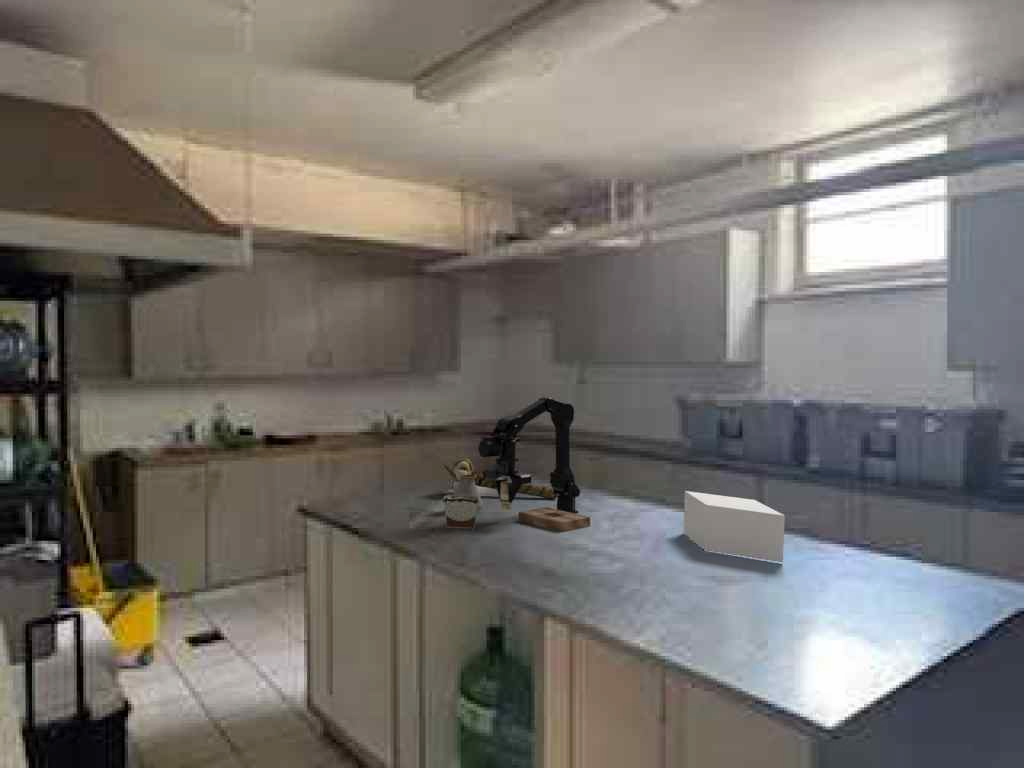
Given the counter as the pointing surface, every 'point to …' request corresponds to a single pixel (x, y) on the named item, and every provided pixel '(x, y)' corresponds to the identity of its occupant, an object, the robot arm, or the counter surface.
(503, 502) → the birch peg
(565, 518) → the walnut board
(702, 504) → the box
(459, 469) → the decorative mallet
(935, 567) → the counter surface
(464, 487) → the coffee pot
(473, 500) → the food container
